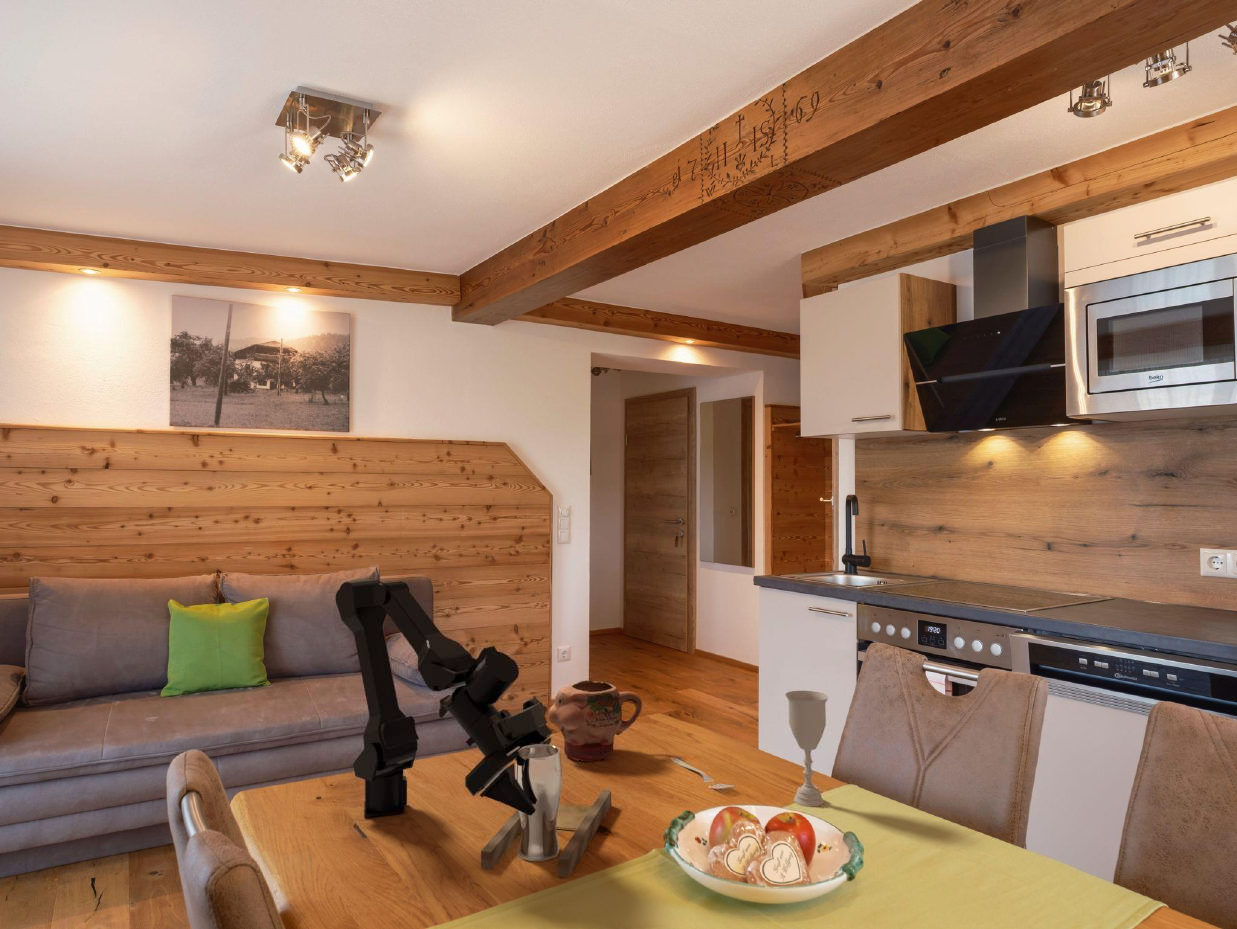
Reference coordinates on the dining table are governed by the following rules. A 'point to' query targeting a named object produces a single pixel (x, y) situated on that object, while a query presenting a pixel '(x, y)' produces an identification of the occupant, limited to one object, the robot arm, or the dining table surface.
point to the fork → (706, 778)
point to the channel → (570, 852)
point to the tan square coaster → (571, 816)
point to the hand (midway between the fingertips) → (546, 801)
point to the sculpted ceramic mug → (591, 718)
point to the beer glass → (539, 800)
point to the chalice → (807, 736)
